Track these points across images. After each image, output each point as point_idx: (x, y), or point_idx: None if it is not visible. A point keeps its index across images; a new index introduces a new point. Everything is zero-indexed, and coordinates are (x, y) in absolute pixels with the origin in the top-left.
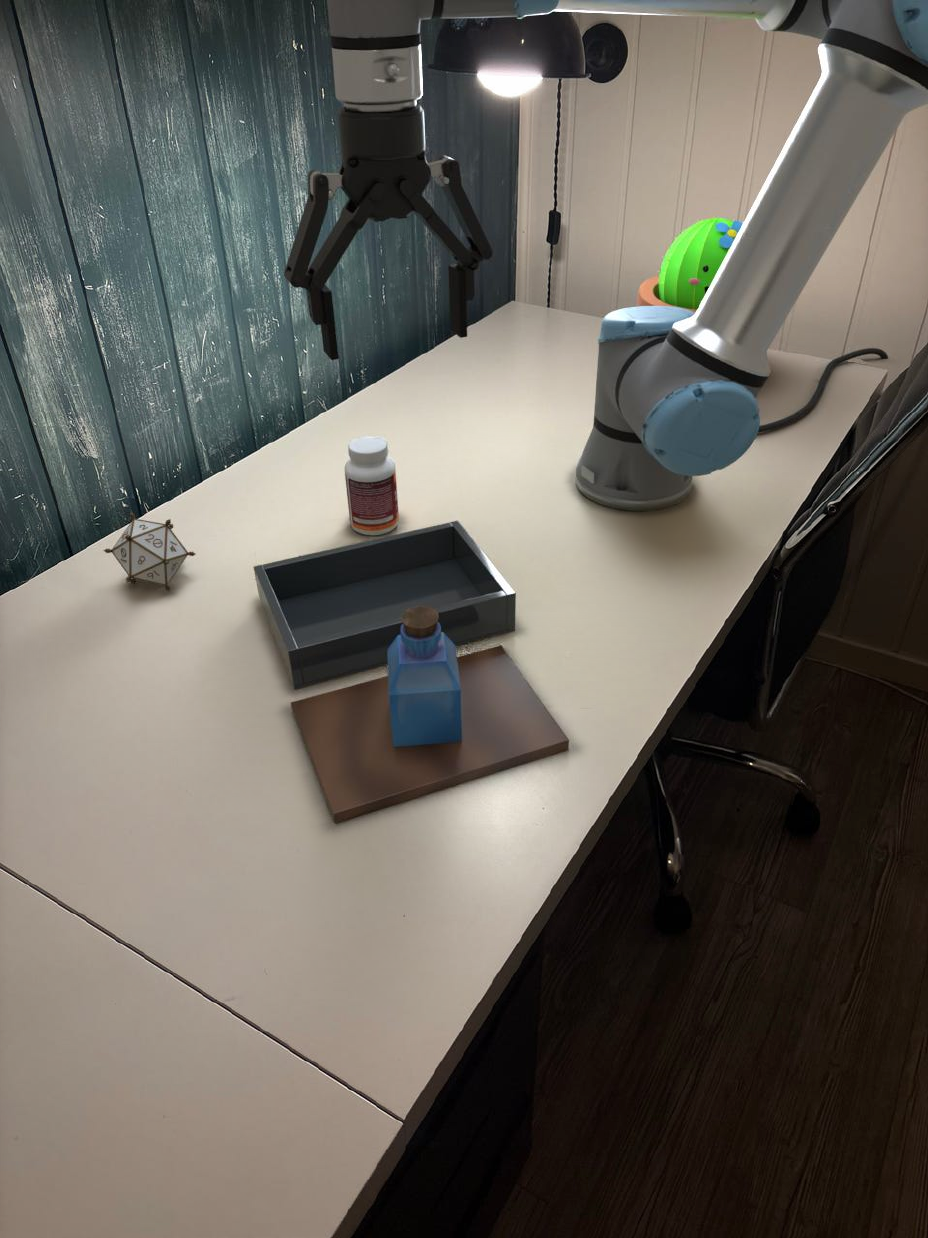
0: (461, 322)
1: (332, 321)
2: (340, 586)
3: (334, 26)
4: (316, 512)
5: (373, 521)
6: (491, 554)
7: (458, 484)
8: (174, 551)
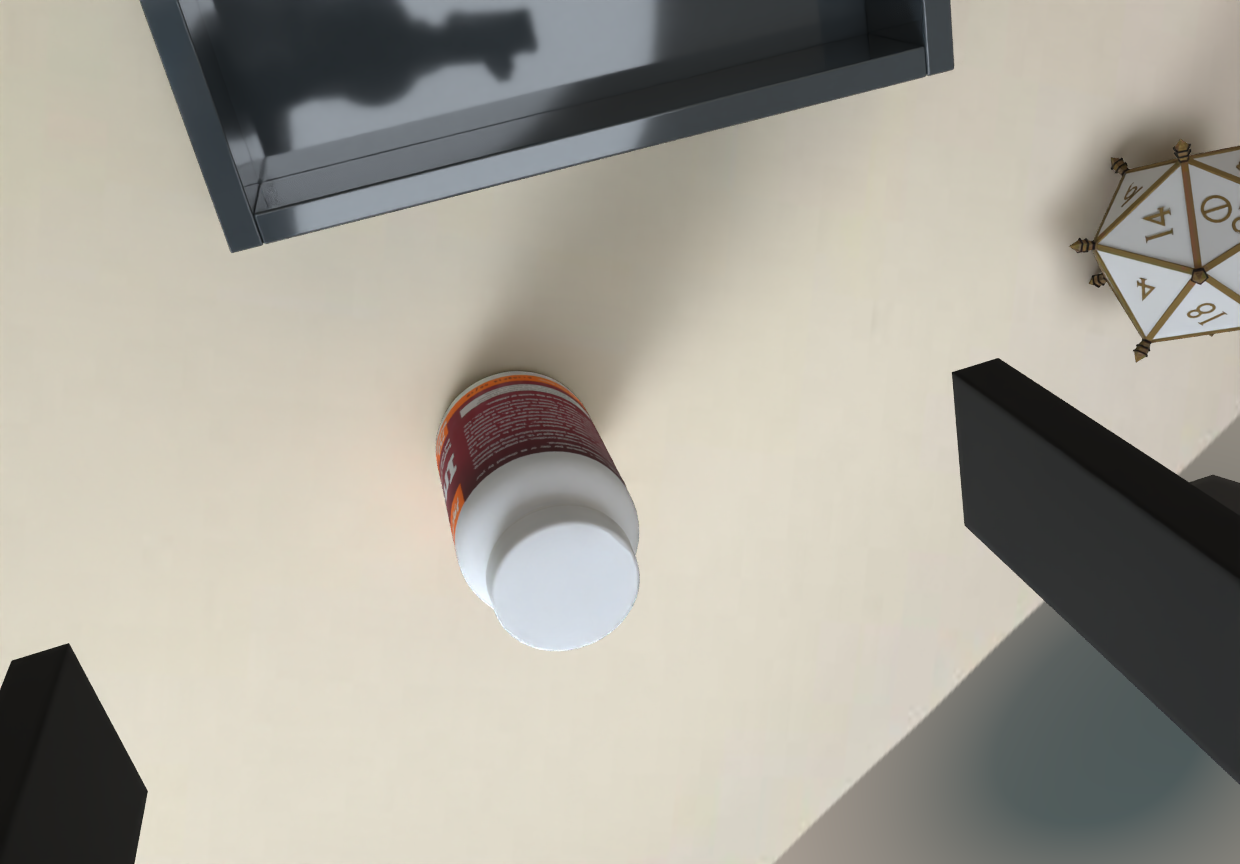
0: (32, 719)
1: (1122, 478)
2: (653, 82)
3: None
4: (682, 523)
5: (528, 388)
6: (117, 205)
7: (215, 650)
8: (1149, 214)
